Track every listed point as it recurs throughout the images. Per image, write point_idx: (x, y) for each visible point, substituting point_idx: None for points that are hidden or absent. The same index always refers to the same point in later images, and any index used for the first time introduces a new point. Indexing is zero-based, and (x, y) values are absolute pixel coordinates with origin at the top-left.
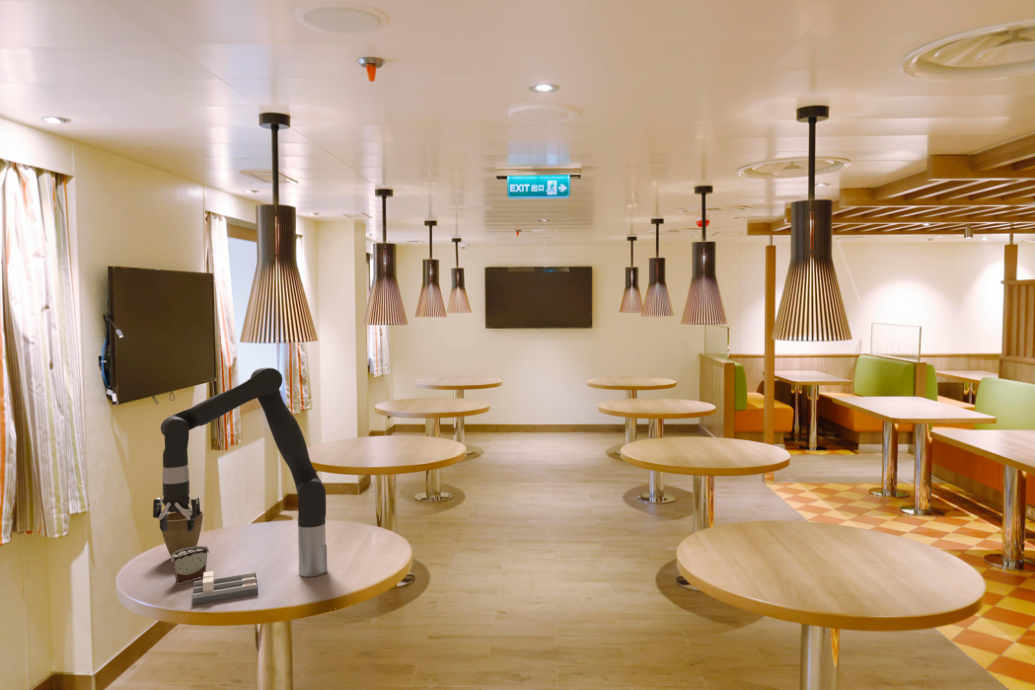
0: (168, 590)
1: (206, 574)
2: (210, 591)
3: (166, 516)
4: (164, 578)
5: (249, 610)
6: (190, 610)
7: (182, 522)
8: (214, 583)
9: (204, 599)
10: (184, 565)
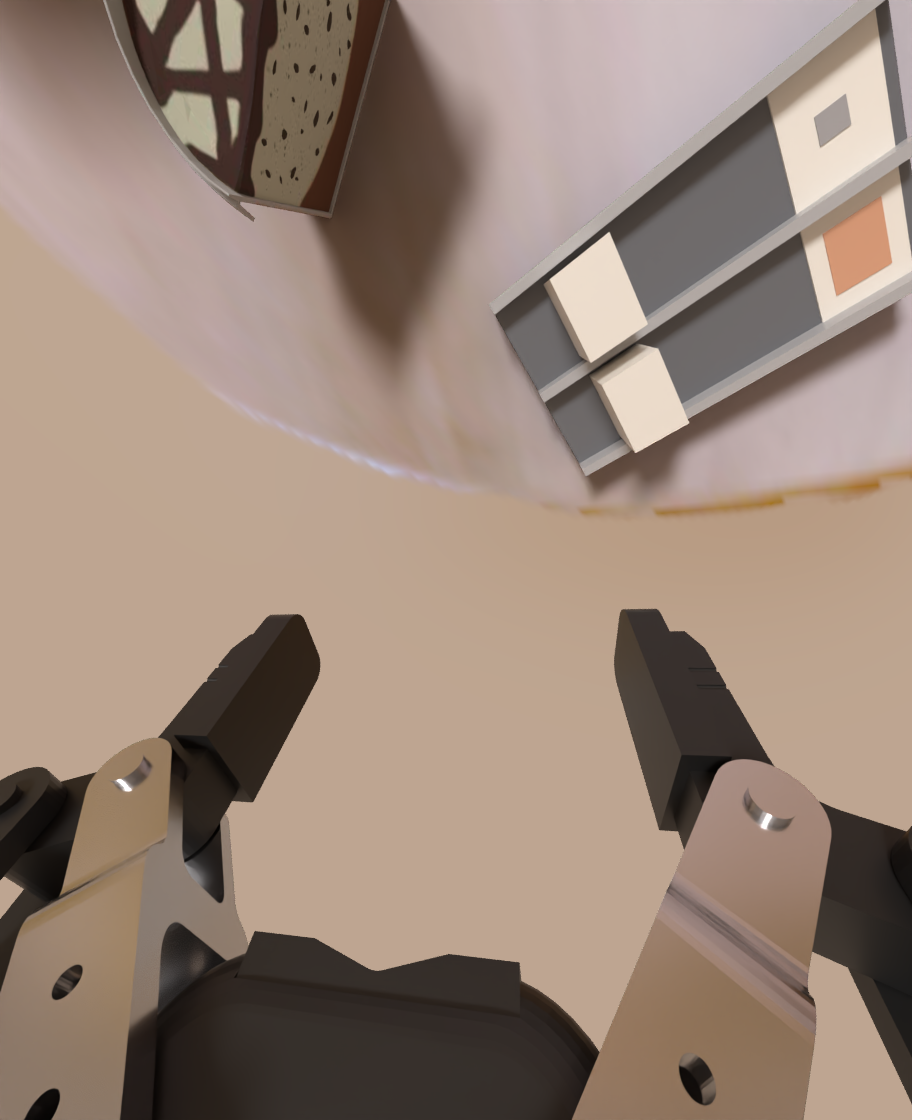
0: (352, 315)
1: (590, 316)
2: None
3: (179, 775)
4: None
5: (870, 479)
6: (598, 505)
7: None
8: None
9: None
10: (297, 127)
